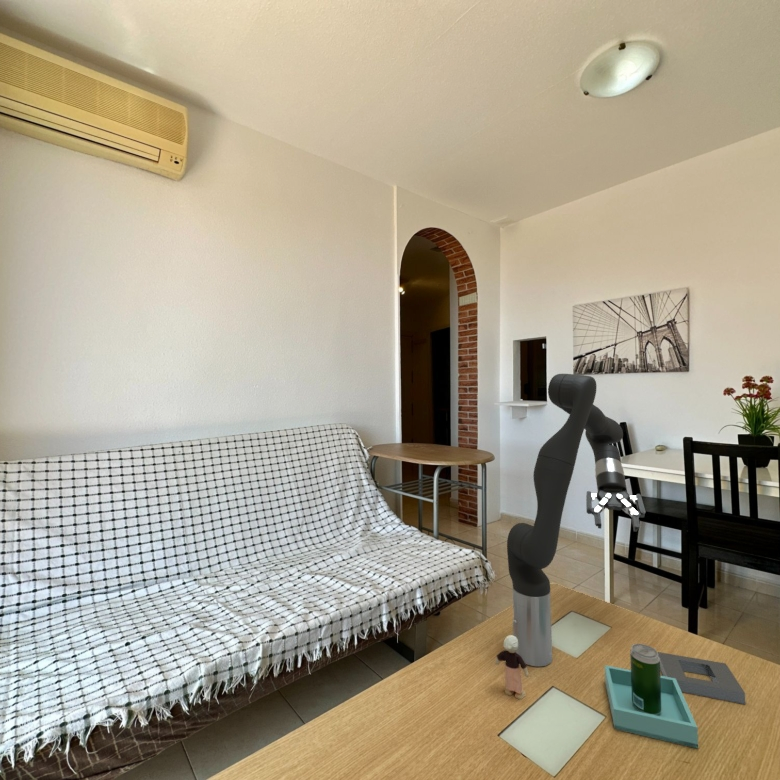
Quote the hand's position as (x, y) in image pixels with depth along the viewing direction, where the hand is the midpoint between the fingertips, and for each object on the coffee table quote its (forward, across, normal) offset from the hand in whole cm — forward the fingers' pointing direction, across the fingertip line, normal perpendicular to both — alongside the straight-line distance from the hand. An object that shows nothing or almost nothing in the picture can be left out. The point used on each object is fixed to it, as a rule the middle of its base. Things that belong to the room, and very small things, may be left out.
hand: (617, 528), depth 110 cm
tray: (+39, +1, +4) cm, 39 cm away
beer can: (+39, +1, +4) cm, 39 cm away
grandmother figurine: (+41, -26, +2) cm, 49 cm away
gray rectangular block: (+29, +14, +14) cm, 35 cm away
